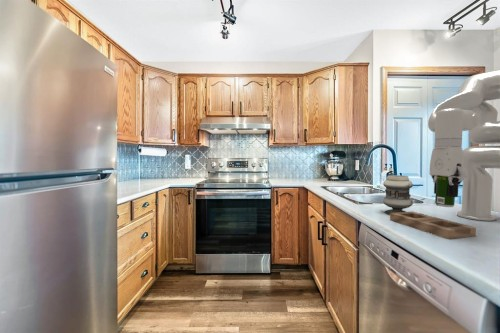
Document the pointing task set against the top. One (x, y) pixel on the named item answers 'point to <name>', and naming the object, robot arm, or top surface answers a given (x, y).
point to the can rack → (434, 225)
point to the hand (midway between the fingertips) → (445, 194)
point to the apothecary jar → (397, 193)
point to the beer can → (443, 192)
